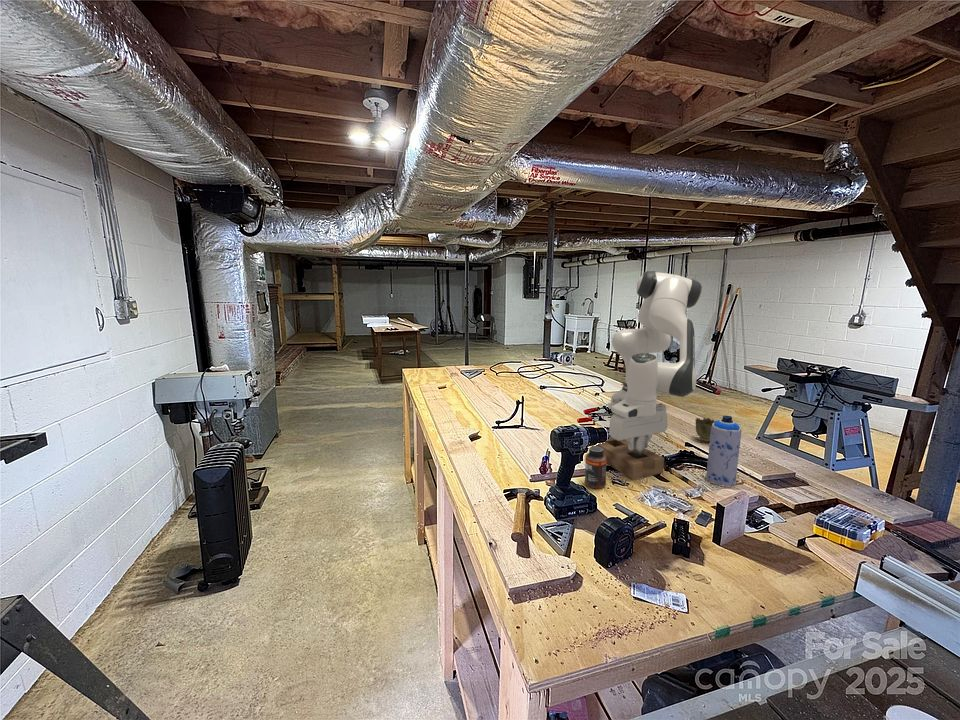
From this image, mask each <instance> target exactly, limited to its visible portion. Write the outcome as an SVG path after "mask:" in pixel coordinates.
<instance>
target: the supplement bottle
mask: <svg viewBox="0 0 960 720" xmlns="http://www.w3.org/2000/svg"><path fill="white" fill-rule="evenodd" d="M584 461H585V463H584V465H585V468H584V470H585V471H584V474H585V475H584V483H585V485H586V486H587V487H589V488H591V489H596V490H597V489H603V488H605V487H606V484H607V464H606V462H607V459H606V456H605V455H603V448H601V447H598V446H592V445H591V446H589V448H588V453H587V454H586V455H585V460H584Z"/></svg>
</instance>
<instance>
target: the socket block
mask: <svg viewBox="0 0 960 720" xmlns="http://www.w3.org/2000/svg"><path fill="white" fill-rule="evenodd" d="M596 446H598V447H601V448H603V455H605V456H606V459H607V462H606V465H607V466H610V467H611V468H613V469H615V470H616V471H618V472H619V473H620V474H622V475H624V476H626V477H627V478H629V479H630V480H632V481H634V480H639V479H643V478H647V477H652V476H655V475H660V474H663V473H664V469H665V457H663V456H662V455H660V454H658V453H656V452H653V451H652V450H650V449H647V447H646V448H644V458H640V459H636V458H634V457H632V456H631V454H632V451H631V450H629V449H628V443H627V441H626V439H625V440H619V441H618V440H615V439H614V438H612V437H611V436H609V439H608V441H606V442H605V443H602V444H598V445H596Z"/></svg>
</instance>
